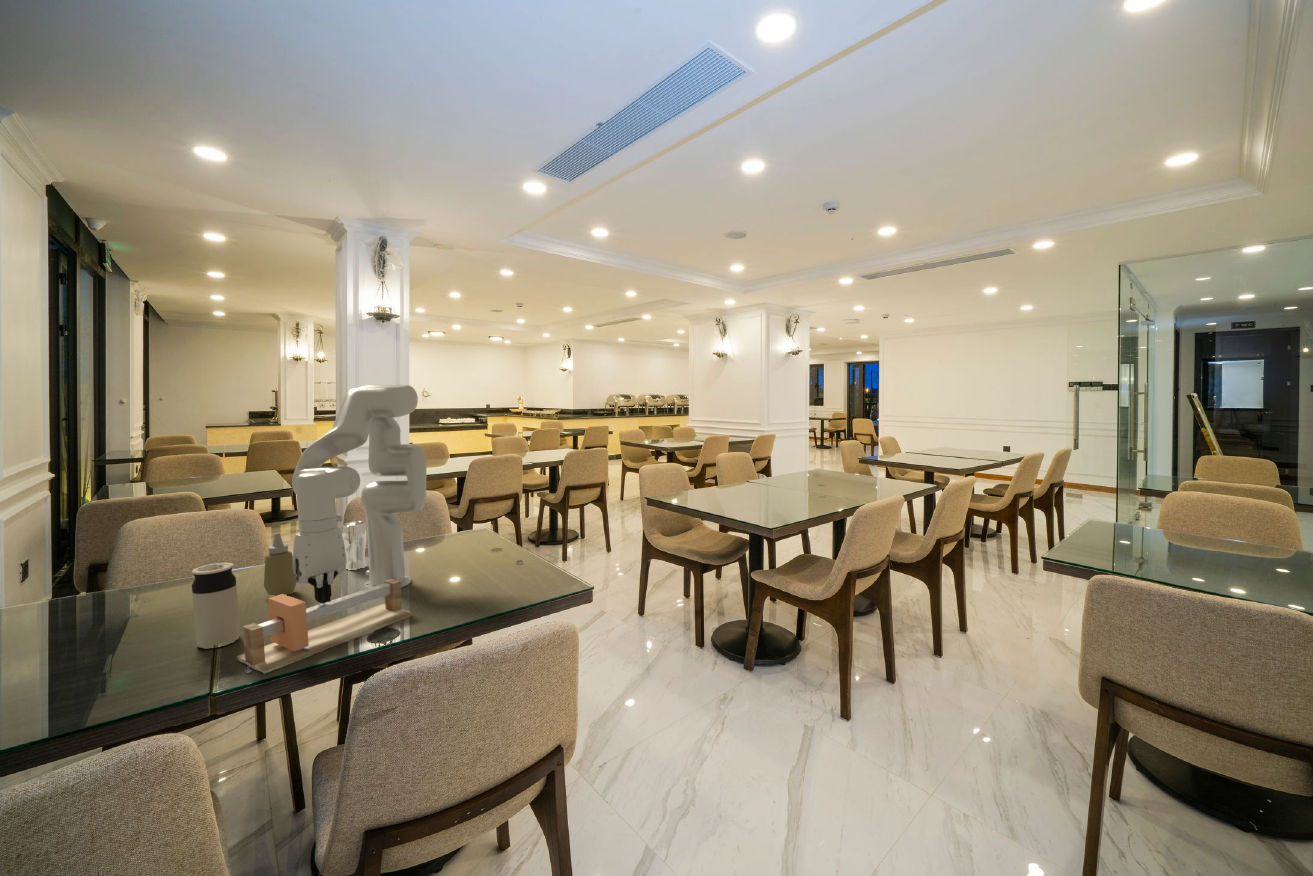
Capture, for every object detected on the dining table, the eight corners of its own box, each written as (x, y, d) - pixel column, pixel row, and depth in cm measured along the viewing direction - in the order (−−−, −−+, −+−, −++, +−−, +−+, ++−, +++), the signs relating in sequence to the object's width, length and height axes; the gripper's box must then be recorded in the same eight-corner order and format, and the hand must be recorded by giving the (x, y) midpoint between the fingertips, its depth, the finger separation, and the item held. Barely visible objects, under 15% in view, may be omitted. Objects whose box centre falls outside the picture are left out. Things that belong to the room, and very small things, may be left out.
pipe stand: (237, 660, 119) (234, 622, 119) (383, 607, 148) (382, 576, 148) (264, 674, 113) (261, 634, 112) (411, 615, 142) (410, 584, 142)
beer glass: (344, 572, 178) (341, 527, 177) (344, 566, 184) (342, 522, 183) (368, 569, 181) (365, 524, 180) (368, 563, 187) (365, 520, 186)
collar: (271, 641, 124) (268, 598, 123) (285, 636, 127) (282, 593, 126) (294, 651, 119) (290, 606, 118) (308, 645, 122) (305, 602, 121)
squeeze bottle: (257, 597, 156) (253, 535, 155) (286, 588, 164) (281, 529, 162) (276, 601, 153) (272, 538, 152) (304, 591, 161) (300, 531, 159)
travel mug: (205, 653, 123) (198, 575, 121) (191, 645, 127) (184, 569, 125) (246, 639, 129) (240, 565, 128) (231, 632, 134) (226, 560, 132)
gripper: (341, 516, 136) (346, 588, 137) (274, 530, 123) (280, 609, 125) (359, 520, 132) (363, 594, 133) (291, 534, 119) (297, 616, 121)
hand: (323, 601), depth 129 cm, fingers closed
